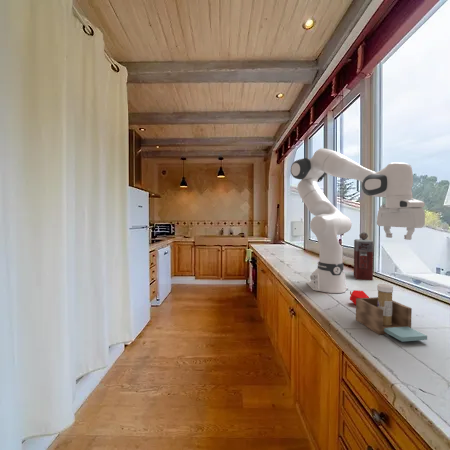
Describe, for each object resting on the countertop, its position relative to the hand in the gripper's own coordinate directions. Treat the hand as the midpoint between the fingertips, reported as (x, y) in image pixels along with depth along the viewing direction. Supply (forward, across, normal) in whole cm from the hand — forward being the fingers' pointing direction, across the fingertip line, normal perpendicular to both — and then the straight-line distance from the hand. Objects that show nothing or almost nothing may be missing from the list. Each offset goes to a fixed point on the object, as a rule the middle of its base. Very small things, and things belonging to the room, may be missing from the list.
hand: (398, 238), depth 103 cm
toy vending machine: (+29, -51, +22) cm, 63 cm away
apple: (+29, -9, -10) cm, 32 cm away
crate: (+29, +12, -16) cm, 35 cm away
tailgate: (+28, +18, -16) cm, 37 cm away
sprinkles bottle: (+28, +13, -16) cm, 35 cm away
